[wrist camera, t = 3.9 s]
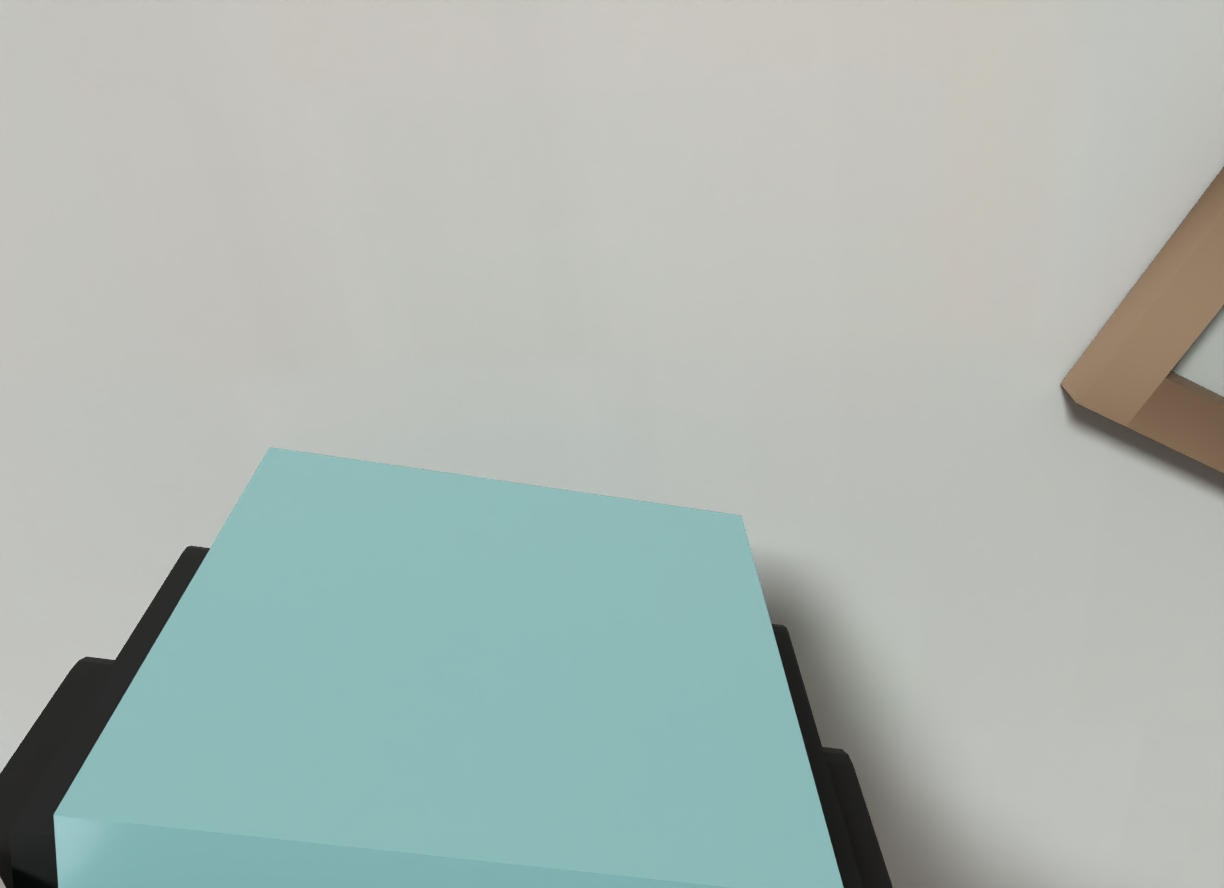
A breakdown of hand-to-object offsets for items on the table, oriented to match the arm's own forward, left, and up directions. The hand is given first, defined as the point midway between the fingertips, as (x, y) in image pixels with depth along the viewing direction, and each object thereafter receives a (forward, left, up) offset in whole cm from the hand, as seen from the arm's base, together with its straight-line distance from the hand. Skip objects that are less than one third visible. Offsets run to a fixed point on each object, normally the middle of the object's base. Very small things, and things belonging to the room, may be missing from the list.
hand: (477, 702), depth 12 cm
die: (0, 0, -1) cm, 1 cm away
